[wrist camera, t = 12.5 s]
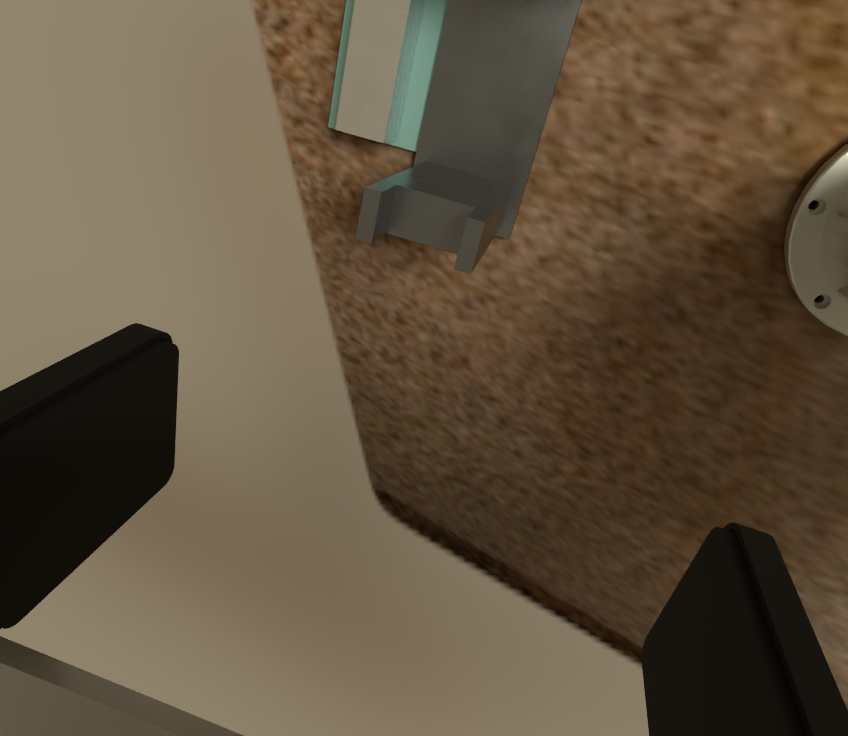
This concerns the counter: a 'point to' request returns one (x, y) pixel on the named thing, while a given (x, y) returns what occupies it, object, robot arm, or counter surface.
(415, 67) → the mat
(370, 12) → the rail
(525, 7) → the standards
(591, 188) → the counter surface
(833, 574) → the counter surface
